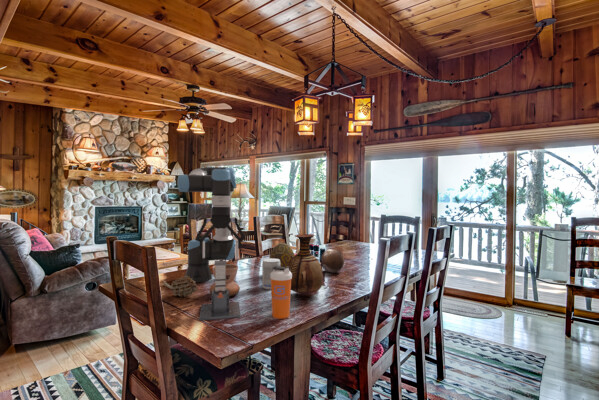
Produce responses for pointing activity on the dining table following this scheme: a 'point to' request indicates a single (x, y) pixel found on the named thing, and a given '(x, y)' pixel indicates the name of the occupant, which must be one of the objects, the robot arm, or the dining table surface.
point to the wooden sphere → (332, 260)
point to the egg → (282, 254)
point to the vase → (305, 269)
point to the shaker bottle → (280, 291)
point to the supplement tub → (268, 271)
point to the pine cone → (182, 286)
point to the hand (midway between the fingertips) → (220, 257)
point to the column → (220, 277)
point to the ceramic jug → (228, 279)
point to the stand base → (220, 307)
